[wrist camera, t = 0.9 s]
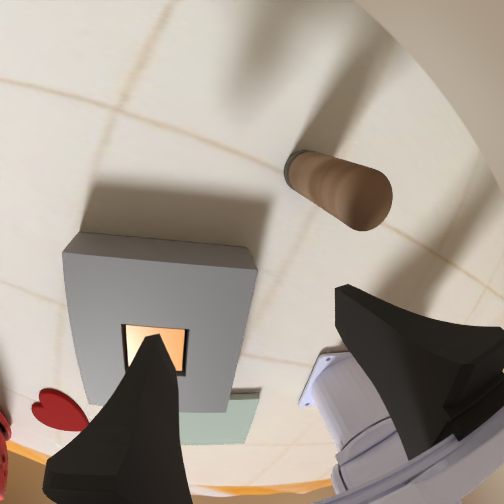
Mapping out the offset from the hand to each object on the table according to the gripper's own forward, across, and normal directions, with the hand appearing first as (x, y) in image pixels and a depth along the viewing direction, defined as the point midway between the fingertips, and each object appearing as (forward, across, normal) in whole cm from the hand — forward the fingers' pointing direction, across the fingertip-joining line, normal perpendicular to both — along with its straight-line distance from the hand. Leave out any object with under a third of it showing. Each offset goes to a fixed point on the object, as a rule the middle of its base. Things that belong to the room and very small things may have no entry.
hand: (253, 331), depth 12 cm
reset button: (+8, +6, +6) cm, 12 cm away
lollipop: (+11, +20, +19) cm, 30 cm away
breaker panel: (+10, +6, +6) cm, 13 cm away
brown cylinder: (+10, -6, -3) cm, 13 cm away
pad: (+10, +6, +20) cm, 23 cm away
